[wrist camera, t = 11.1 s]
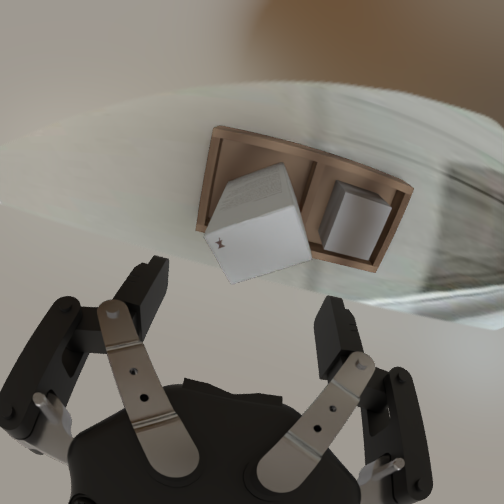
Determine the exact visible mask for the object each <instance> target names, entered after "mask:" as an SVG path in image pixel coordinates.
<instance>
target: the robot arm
mask: <svg viewBox="0 0 504 504" xmlns="http://www.w3.org/2000/svg"><path fill="white" fill-rule="evenodd" d="M168 271H169V259H167V258H163V257H159V256H155V255H154V256H153V257H152V259H151V260H150V262H149V263H148V264H145V263H141V264H139V265H138V266H136V267H134V269H133V271H132V272H131V273H130V275H129V276H128V277H127V279H126V281H125V282H124V283H123V284H122V286H121V287H120V289H119V290H118V292H117V293H116V295H115V296H114V298H113V299H112V300H107V301H104V302H102V303H101V304H100V305H99V307H81V306H80V302H79V301H78V300H77V299H76V298H74V297H71V296H65V297H61V298H59V299H57V300H56V301H55V302H54V304H53V305H52V306H51V308H50V309H49V311H48V312H47V314H46V315H45V316H44V318H43V320H42V321H41V323H40V324H39V325H38V327H37V329H36V330H35V332H34V333H33V335H32V336H31V338H30V340H29V341H28V343H27V344H26V346H25V348H24V350H23V351H22V353H21V354H20V356H19V358H18V360H17V362H16V363H15V365H14V367H13V368H12V370H11V372H10V374H9V376H8V378H7V380H6V382H5V384H4V386H3V388H2V390H1V391H0V427H2V428H3V429H4V430H5V431H6V432H7V433H8V434H9V435H10V436H11V437H12V438H14V439H15V440H16V441H17V442H19V443H20V444H21V445H23V446H24V447H26V448H28V449H29V450H31V451H32V452H34V453H36V454H39V455H43V454H45V455H47V456H49V457H51V458H53V459H55V460H57V461H59V462H61V463H63V464H65V465H67V466H69V470H70V476H71V497H70V500H69V503H68V504H412V503H415V502H417V501H421V500H423V499H425V498H427V497H428V496H429V495H430V493H431V491H432V488H433V480H432V471H431V464H430V457H429V452H428V446H427V440H426V435H425V430H424V425H423V420H422V416H421V411H420V407H419V403H418V399H417V395H416V391H415V387H414V383H413V380H412V377H411V375H410V373H409V372H408V371H407V370H405V369H404V368H401V367H394V368H392V369H391V370H390V371H389V372H387V371H384V370H382V369H379V368H377V367H375V363H374V361H373V359H372V358H371V357H370V356H369V355H367V354H365V353H364V351H363V347H362V343H361V340H360V336H359V333H358V329H357V326H356V322H355V318H354V316H353V315H352V313H351V312H350V311H349V309H345V307H344V303H343V300H342V298H338V297H333V296H327V297H326V298H325V300H324V302H323V304H322V306H321V308H320V310H319V312H318V314H317V316H316V318H315V321H314V334H315V342H316V350H317V359H318V368H319V377H320V379H323V380H328V385H327V386H326V387H325V388H324V390H323V391H322V392H321V393H320V395H319V396H318V397H317V398H316V399H315V401H314V402H313V403H312V404H311V405H310V407H309V408H308V409H307V410H306V411H305V412H304V413H303V414H302V415H301V414H300V413H298V412H297V411H296V410H294V409H293V408H291V407H289V406H287V405H285V404H283V403H282V396H275V395H267V394H261V393H255V394H231V393H229V392H226V391H224V390H222V389H220V388H217V387H215V386H213V385H211V384H208V383H204V382H199V381H195V380H191V379H187V378H184V382H183V384H175V385H168V386H164V387H162V385H161V383H160V381H159V378H158V376H157V374H156V372H155V370H154V367H153V365H152V363H151V360H150V358H149V356H148V353H147V351H146V348H145V346H144V344H143V341H144V339H145V336H146V334H147V332H148V330H149V328H150V325H151V323H152V321H153V319H154V317H155V314H156V313H157V311H158V308H159V306H160V304H161V302H162V300H163V298H164V296H165V294H166V290H167V286H168ZM89 353H100V354H107V356H108V359H109V363H110V366H111V369H112V372H113V376H114V379H115V382H116V385H117V388H118V390H119V394H120V396H121V399H122V402H123V405H124V407H125V408H124V409H122V410H120V411H119V412H117V413H115V414H113V415H112V416H110V417H108V418H106V419H104V420H103V421H101V422H99V423H97V424H95V425H93V426H92V427H90V428H88V429H86V430H84V431H82V432H80V433H79V434H78V435H77V436H76V437H75V438H73V437H72V434H71V425H72V419H71V416H70V414H69V412H68V411H67V409H66V406H67V403H68V401H69V398H70V396H71V393H72V391H73V388H74V386H75V384H76V381H77V379H78V377H79V375H80V373H81V370H82V368H83V366H84V364H85V361H86V359H87V357H88V355H89ZM356 406H358V407H361V415H362V425H363V437H364V450H365V466H364V467H363V468H362V469H361V471H360V473H359V478H358V479H357V480H356V479H355V478H354V477H353V476H352V474H351V473H350V472H349V471H348V470H347V469H346V468H345V466H344V465H343V464H342V463H341V462H340V461H339V460H338V459H337V457H336V456H335V455H334V454H333V453H332V451H331V450H330V449H329V448H328V447H329V446H330V444H331V443H332V442H333V440H334V439H335V437H336V436H337V434H338V433H339V432H340V430H341V429H342V427H343V426H344V424H345V423H346V421H347V420H348V418H349V417H350V415H351V414H352V412H353V411H354V409H355V408H356ZM388 408H389V410H388ZM389 413H390V416H389Z"/></svg>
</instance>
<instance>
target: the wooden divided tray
mask: <svg viewBox="0 0 504 504" xmlns="http://www.w3.org/2000/svg"><path fill="white" fill-rule="evenodd" d="M280 162H283V163H284V165H285V168H286V171H287V173H288V176H289V179H290V181H291V184H292V187H293V190H294V193H295V196H296V199H297V203H298V206H299V210H300V213H301V217H302V221H303V224H304V228H305V231H306V235H307V239H308V243H309V246H310V250H311V254H312V258H315V259H319V260H324V261H328V262H332V263H336V264H340V265H344V266H349V267H353V268H357V269H361V270H365V271H369V272H374V273H376V271H377V269H378V267H379V265H380V263H381V261H382V259H383V257H384V255H385V253H386V251H387V249H388V247H389V245H390V243H391V241H392V239H393V236H394V234H395V232H396V230H397V228H398V226H399V223H400V221H401V219H402V217H403V214H404V212H405V210H406V207H407V205H408V202H409V200H410V198H411V195H412V193H413V190H414V188H413V187H411V186H410V185H409V184H407V183H406V182H405V181H403V180H401V179H399V178H397V177H394V176H392V175H389V174H387V173H384V172H382V171H379V170H376V169H374V168H371V167H368V166H366V165H363V164H360V163H357V162H354V161H352V160H349V159H346V158H343V157H340V156H337V155H334V154H331V153H327V152H324V151H321V150H318V149H314V148H311V147H308V146H304V145H301V144H297V143H293V142H290V141H286V140H282V139H278V138H274V137H270V136H266V135H262V134H258V133H253V132H249V131H244V130H240V129H235V128H230V127H225V126H217V127H215V128H213V132H212V137H211V142H210V148H209V153H208V158H207V163H206V169H205V175H204V180H203V186H202V192H201V198H200V204H199V211H198V217H197V224H196V231H199V232H203V233H205V231H206V229H207V227H208V224H209V222H210V220H211V218H212V216H213V213H214V211H215V209H216V207H217V204H218V202H219V200H220V198H221V196H222V194H223V191H224V189H225V187H226V185H227V183H228V182H229V181H232V180H234V179H237V178H239V177H242V176H245V175H247V174H250V173H253V172H255V171H258V170H261V169H264V168H266V167H269V166H272V165H275V164H278V163H280Z"/></svg>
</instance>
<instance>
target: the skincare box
mask: <svg viewBox="0 0 504 504" xmlns="http://www.w3.org/2000/svg"><path fill="white" fill-rule="evenodd" d="M204 239H205V240H206V242H207V244H208V246H209V247H210V249H211V251H212V252H213V254H214V256H215V258H216V259H217V261H218V263H219V265H220V266H221V268H222V270H223V272H224V274H225V275H226V277H227V279H228V281H229V282H230V284H235V283H239V282H242V281H245V280H249V279H252V278H255V277H258V276H262V275H265V274H268V273H271V272H274V271H277V270H281V269H284V268H287V267H290V266H293V265H297V264H300V263H303V262H306V261H310V260H312V254H311V250H310V246H309V243H308V239H307V235H306V231H305V228H304V224H303V221H302V217H301V213H300V210H299V206H298V203H297V199H296V196H295V193H294V190H293V187H292V184H291V181H290V179H289V176H288V173H287V171H286V168H285V165H284V163H283V162H280V163H278V164H275V165H272V166H269V167H266V168H264V169H261V170H258V171H255V172H253V173H250V174H247V175H245V176H242V177H239V178H237V179H234V180H232V181H229V182H228V183H227V185H226V187H225V189H224V191H223V194H222V196H221V198H220V200H219V202H218V204H217V207H216V209H215V211H214V213H213V216H212V218H211V220H210V222H209V224H208V227H207V229H206V231H205V234H204Z"/></svg>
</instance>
